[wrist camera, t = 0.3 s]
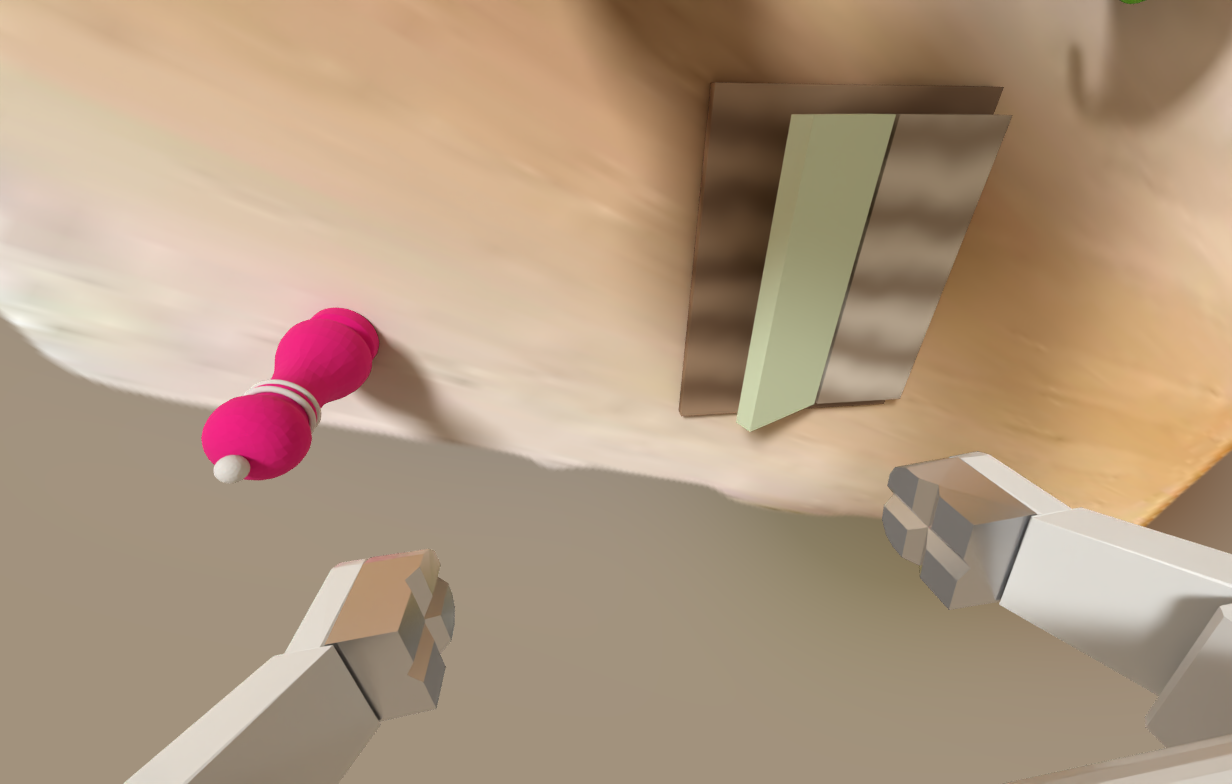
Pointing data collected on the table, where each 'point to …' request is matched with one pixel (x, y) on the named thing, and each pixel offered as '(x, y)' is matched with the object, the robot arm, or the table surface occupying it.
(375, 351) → the pepper mill
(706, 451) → the table surface
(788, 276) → the board
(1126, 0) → the snack cup
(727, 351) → the floor board
